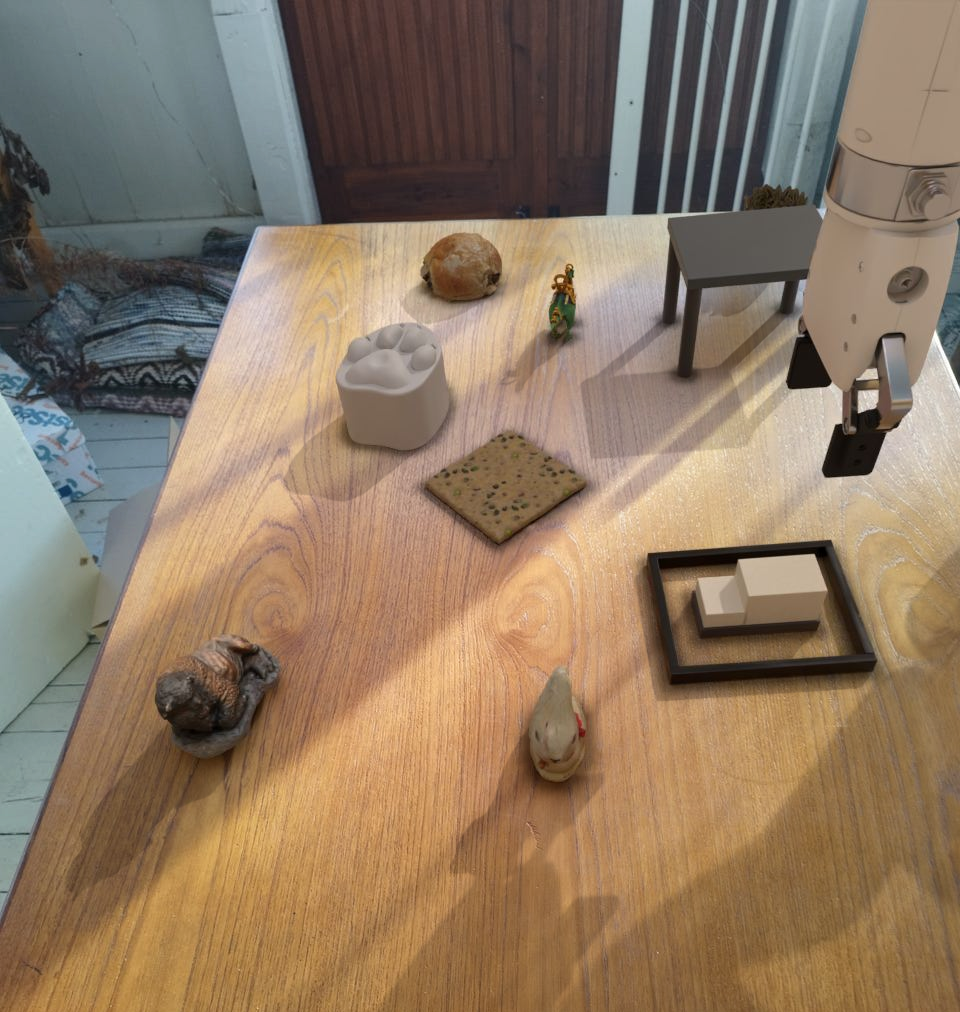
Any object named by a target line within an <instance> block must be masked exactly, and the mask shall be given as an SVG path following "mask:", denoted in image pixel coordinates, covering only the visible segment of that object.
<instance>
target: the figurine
mask: <svg viewBox="0 0 960 1012" xmlns="http://www.w3.org/2000/svg"><path fill="white" fill-rule="evenodd" d="M574 267H575V266H574V265H573V264H572V263H567V264H566V265H565V268H564V273H557V274H556V275H554V277H553V282H554V283H552V284H551V286H550V288H551V289H552V290H553V291H554V292H553V293H552V298H551V301H550V302H549V303H550V305H549V308H548V319H549V324H550V330H551V335H552V338H553V340H554V341H556V339H557V338H558V337H559V335H560V333H559V332H558V331H557V330H556V326H557V325H558V323H559V324H562V323H563V322H564V321H565V323H566V329H565V332H566V333H565V341H569V339H571V338H573V334H571V333H570V331H571V328H572V327H573V325H574V324H575V323H577V322H576V320H575V317H576V310H577V300H576V299H577V296H578V295H577V294H578V293H577V292H575V288H574V281H573V279H574V278H575V270H574ZM558 279H563V281H561V282H558Z"/></svg>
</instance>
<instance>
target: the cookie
mask: <svg viewBox="0 0 960 1012" xmlns="http://www.w3.org/2000/svg"><path fill="white" fill-rule="evenodd" d="M586 486H587V481H586V480H585V479H584V478H583V477H582V476H579V474H577V473H576V472H575V471H574V470H572V469H571V468H568V467H567V466H566V465H564V464H562V463H561V462H558V460H556V459H555V458H553V457H552V456H551V455H549V454H547V453H546V452H544V451H543V450H541V449H539V448H538V447H536V446H535V445H534V444H532V443H531V442H529V441H528V440H526V439H525V437H524V436H523V435H520V434H518V433H517V432H516V431H513V430H511V429H510V430H507V431H506V432H504V433H499V434H497V435H496V436H495V437H494V438H490V440H489V441H488V442H486V443H484V444H483V445H481V446H480V447H478V448H477V449H475V450H474V451H473V452H471V453H469V454H468V455H467V456H465V457H464V458H462V459H460V460H457V461H456V462H455V463H452V464H450V465H449V466H448V467H443V468H442V469H441V470H440V471H439V472H438V473H436V474H433V476H432V477H431V478H430V479H429V480H427V481H425V483H424V487H425V488H426V489H428V490H429V492H431V493H433V494H434V495H435V496H436V497H437V498H439V500H441V501H442V502H444V503H445V504H447V505H448V507H449V508H452V510H453V511H455V512H456V513H457V514H459V515H460V516H461V517H462V518H463V519H465V520H467V521H468V522H469V523H470V524H471V525H473V526H475V527H476V528H477V529H478V530H480V531H481V532H482V533H483V534H484V535H486V536H487V537H488V538H489V539H491V540H492V541H493V542H495V543H496V544H498V545H499V544H501V543H502V542H504V541H505V540H507V539H509V538H510V537H512V536H513V534H516V532H518V531H520V530H521V529H523V528H524V527H526V526H527V525H528V524H530V523H532V522H534V521H535V520H536V519H538V518H540V517H542V516H543V515H544V514H546V513H548V511H550V510H552V509H553V508H555V507H556V506H557V505H558V504H559V503H560V502H562V501H564V500H565V499H567V498H569V497H570V496H571V495H573V494H575V493H577V492H578V491H580V490H582V489H583V488H585V487H586Z"/></svg>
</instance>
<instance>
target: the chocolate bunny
mask: <svg viewBox="0 0 960 1012" xmlns="http://www.w3.org/2000/svg"><path fill="white" fill-rule="evenodd" d="M546 681H547V682H546V683H545V686H544V687H543V689H542V691H541V693H540V695H539V697H538V700H537V702H536V705H535V708H534V711H533V714H532V718H531V721H530V724H529V729H528V739H529V753H530V756H531V759H532V761H533V764H534V766H535V770H536V771H537V772H538V773H539V775H540V776H541V777H542V778H543V779H544V780H545V781H549V782H553V783H562V782H565V781H567V780H568V779H570V778H572V777H573V776H574V775H575V774H576V772H577V770H578V767H579V766H580V764H581V763H582V762H583V761H584V757H585V754H586V746H587V735H588V728H587V727H588V726H587V722H586V717H585V714H584V711H583V709H582V706H581V705H580V703H579V701H578V700H577V698H576V697H574V696H573V682H572V679H571V677H570V672H569V670H568V667H567V666H566V665H563V664H561V665H557V666H556V667H555V668H554V670H553V671H552V673H551V674H550V676H549V678H548V679H547V680H546Z"/></svg>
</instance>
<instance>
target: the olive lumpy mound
mask: <svg viewBox="0 0 960 1012" xmlns="http://www.w3.org/2000/svg"><path fill="white" fill-rule="evenodd" d="M805 196H806V193H805V191H801V193H800V189H798V188H797V187H796V188H792V185H788V186H787V187H786V188H785V189H784V190H783V188H782V185H781V184H780V183H779V184H778V185H777V186H776V187H775V188H774V187H773V186H772V185H770V184H768V183H765V184H763V185H762V186H761V187H756V186H755V187H754V188H753V190H752V195H749V196H748V193H747V192H746V193H745V195H744V196H743V211H749V210H760V209H771V208H782V207H792V206H803V205H808V202H809V196H806V197H805Z"/></svg>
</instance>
